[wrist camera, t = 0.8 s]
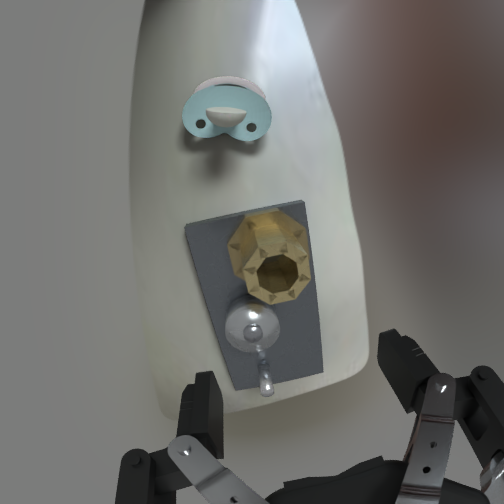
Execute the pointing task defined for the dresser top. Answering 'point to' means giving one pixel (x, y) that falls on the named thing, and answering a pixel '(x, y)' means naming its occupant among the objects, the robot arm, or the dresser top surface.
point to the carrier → (256, 310)
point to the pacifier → (227, 109)
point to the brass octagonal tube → (266, 245)
